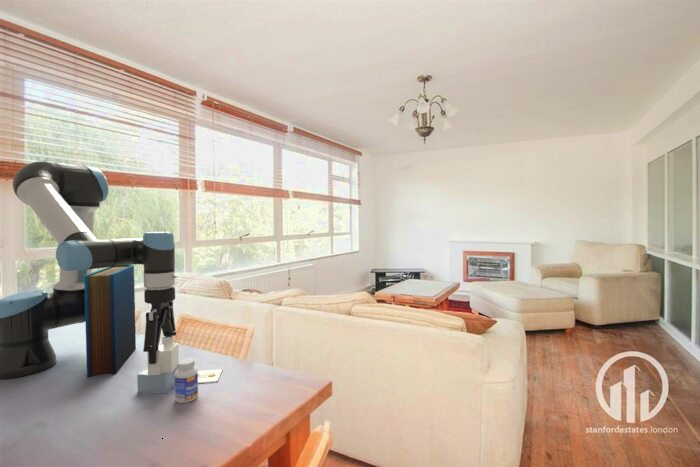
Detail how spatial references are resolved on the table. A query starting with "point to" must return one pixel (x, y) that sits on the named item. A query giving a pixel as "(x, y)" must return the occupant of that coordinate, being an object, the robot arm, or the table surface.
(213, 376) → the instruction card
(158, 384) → the base block
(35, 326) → the robot arm
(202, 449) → the table surface
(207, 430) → the table surface
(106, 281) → the book
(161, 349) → the cream cube
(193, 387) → the pill bottle
